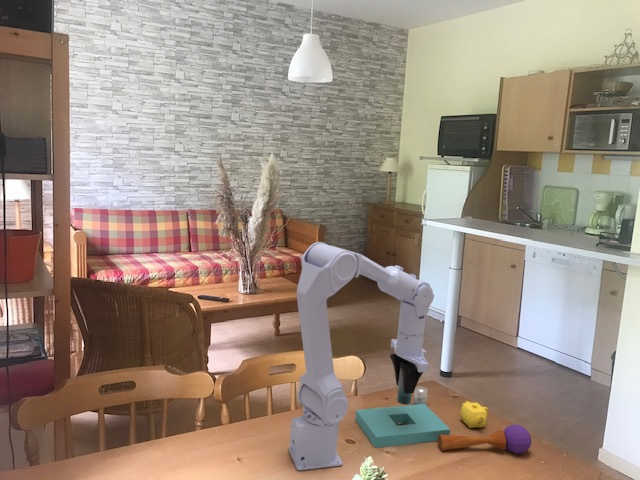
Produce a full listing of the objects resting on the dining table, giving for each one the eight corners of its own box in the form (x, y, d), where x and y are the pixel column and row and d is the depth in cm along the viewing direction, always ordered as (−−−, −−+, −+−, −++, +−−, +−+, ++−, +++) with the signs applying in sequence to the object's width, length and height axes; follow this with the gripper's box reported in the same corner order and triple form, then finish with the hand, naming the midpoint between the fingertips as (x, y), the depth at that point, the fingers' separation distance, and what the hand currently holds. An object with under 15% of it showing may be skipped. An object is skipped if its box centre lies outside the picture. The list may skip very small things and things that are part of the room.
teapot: (494, 433, 123) (497, 412, 122) (472, 434, 121) (475, 413, 120) (477, 415, 130) (480, 396, 129) (456, 416, 129) (458, 397, 128)
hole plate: (375, 447, 113) (376, 437, 112) (355, 419, 124) (356, 409, 124) (449, 439, 118) (450, 429, 118) (423, 413, 129) (424, 403, 129)
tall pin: (400, 405, 118) (404, 367, 116) (394, 398, 121) (398, 361, 119) (413, 403, 119) (417, 366, 117) (407, 397, 122) (410, 360, 120)
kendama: (436, 424, 117) (523, 420, 118) (436, 451, 117) (524, 446, 118) (444, 433, 111) (535, 429, 112) (444, 462, 111) (536, 457, 112)
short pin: (416, 409, 131) (418, 392, 131) (411, 403, 134) (412, 386, 134) (428, 408, 132) (430, 391, 132) (422, 402, 135) (424, 385, 135)
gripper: (443, 343, 112) (436, 402, 114) (412, 320, 125) (406, 374, 127) (413, 344, 109) (407, 405, 112) (385, 321, 123) (379, 376, 125)
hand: (404, 389), depth 119 cm, fingers closed on tall pin, 3 cm apart
